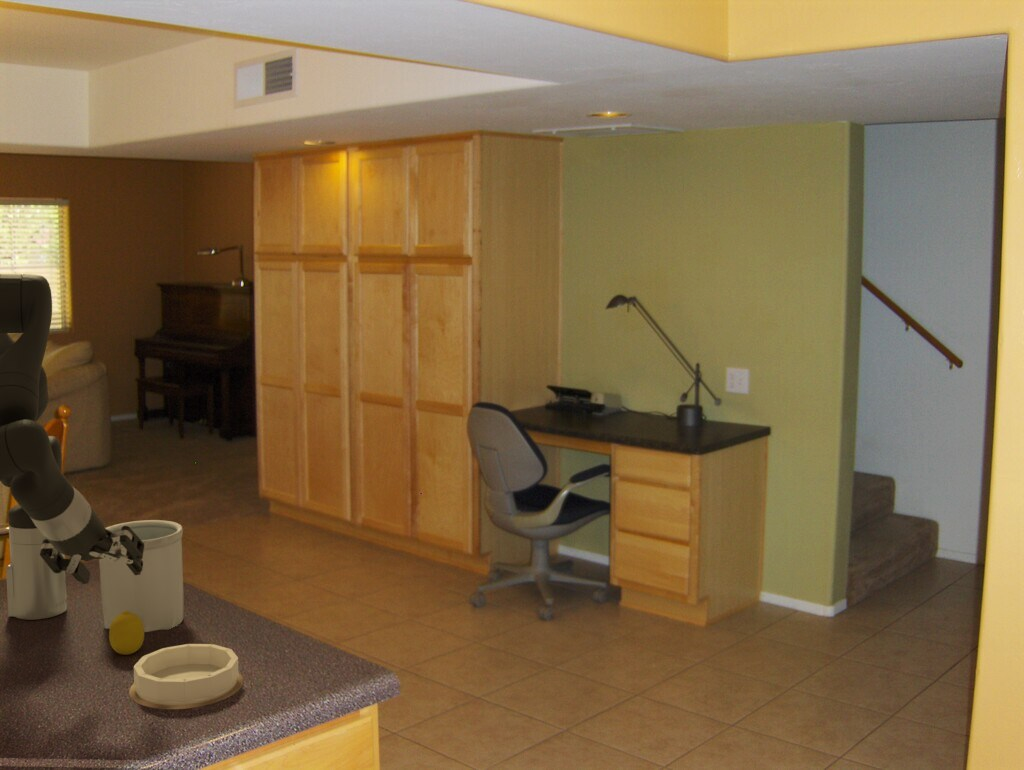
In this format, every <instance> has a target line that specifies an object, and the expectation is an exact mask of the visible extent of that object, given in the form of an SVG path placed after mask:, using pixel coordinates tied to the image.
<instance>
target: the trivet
mask: <svg viewBox="0 0 1024 770" xmlns="http://www.w3.org/2000/svg"><path fill="white" fill-rule="evenodd" d="M238 673H239V676H238V678H237V684H236V686H235V687H234V688H233V689H232V690H231V691H230V692H229V693H227V694H225V695H223V696H221V697H219V698H217V699H214V700H211V701H208V702H204V703H199V704H193V705H186V706H163V705H156V704H151V703H148V702H145V701H143V700H142V699H140V698H139V697H138V696H137V693H136V687H135V686H134V683H133V684H132V685H131V686H130V688H129V692H128V694H129V697H130V698H131V700H132V701H133V702H135V703H137V704H139V705H141V706H143V707H147V708H152V709H161V710H184V709H193V708H199V707H203V706H209V705H212V704H215V703H218V702H221V701H223V700H225V699H228V698H231V696H233V695H235V694H236V693H238V692H239V691H240V689H241V688H242V687H243V684H244V677H243V676H242V674H241V673H240V672H239V671H238Z"/></svg>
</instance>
